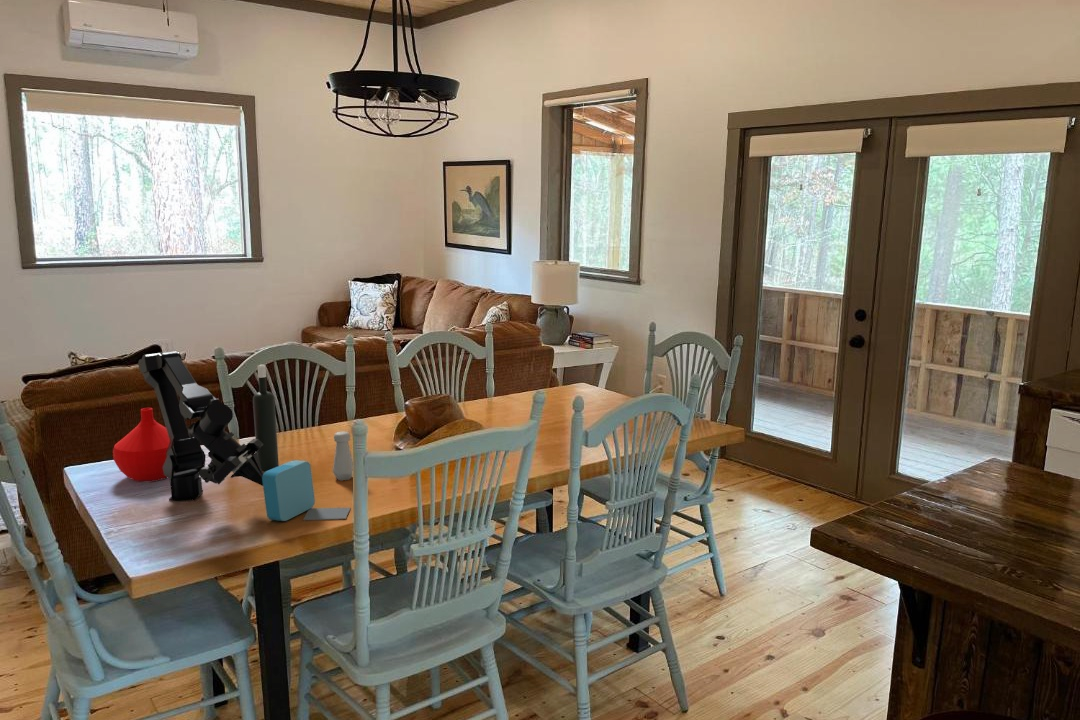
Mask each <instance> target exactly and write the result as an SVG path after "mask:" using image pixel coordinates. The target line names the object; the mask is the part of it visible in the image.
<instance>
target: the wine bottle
mask: <svg viewBox="0 0 1080 720" xmlns="http://www.w3.org/2000/svg"><path fill="white" fill-rule="evenodd" d="M266 367H267V366H266V364H259V365H257V377H258V388H259V391H258V392H256V393H255V394H253V397H252V408H253V409H252V410H253V420H254V421H253V422H254V439H259V440H260V441H261V442H262V443H263V446H262V447H261V448H260V449H259V450H258V451H257V457H258V460H259V463H260V466H261V468H262V471H263V472H266V471H268V470H270V469H273V468H275V467H278V466H280V464H279V449H278V433H277V419H276V418H277V417H276V399H275V396H274V394H273V393H272V392H271V391H268V390H267V389H268V388H267V387H268V386H267V368H266Z"/></svg>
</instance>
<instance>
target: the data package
mask: <svg viewBox="0 0 1080 720" xmlns="http://www.w3.org/2000/svg"><path fill="white" fill-rule="evenodd" d="M263 473H264V474H263V476H262V481H263V486H262V487H263V495H264V496H263V497H264V503H265V511H266V517H267V518H268V519H269V520H271V521H278V522H279V521H280V522H287V521H289V520H290V519H293V518H294V517H297V516H298V515H300V514H302V513H304V512H308V510H309V509H311V508H314V506H315V502H316V500H315V492H314V491H315V490H314V483H313V482H314V481H313V474H312V467H311V463H310V462H309V461H307V460H296V459H295V460H291V461H287V462H285V463H283V464H281V465H280V464H279V466H278V467H275V468H273V469H270V470H268V471H264V472H263Z"/></svg>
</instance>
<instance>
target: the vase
mask: <svg viewBox="0 0 1080 720" xmlns="http://www.w3.org/2000/svg"><path fill="white" fill-rule="evenodd" d="M153 410H154V408H152V407H144V408H141V409H140V415H141V416H140V417H141V418H140V421H139V423H138V424H137V426H135V427H134V428H133V429H132V430H131V431H129V433H127V434H126V435H125V436H123V437H122V438H121V439H120V440H119V441H118V442H117V443H115V444H114V447H113V448H112V457H113V461H114V463H115V464H116V466H117V468H118V470H119V471H120V472H121V473H122V474H124V475H125V476H126V477H127V478H129V479H131V480H132V481H135V482H139V481H151V482H157V481H161V479H162V480H164V478H165V479H168V478H167V477H166V476H165V475H164V472H163V465H164V463H165V460H166V458H167V454H166V451H167V448H168V445H169V442H170V439H169V436H168V432H167V429H166V426H164V425H162V423H161V424H160V423H159V422H157V420H155V418H154V411H153ZM156 480H157V481H156Z"/></svg>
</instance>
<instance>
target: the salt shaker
mask: <svg viewBox="0 0 1080 720" xmlns="http://www.w3.org/2000/svg"><path fill="white" fill-rule="evenodd" d="M333 439H334V440H333V441H334V442H336V443H335V450H334V452H335V453H334V459H333V467H332V473H333V475H334V476H335V479H336V480H337V479H338V480H337V481H343V480H345V481H348V480H351V479H352V477H353V475H352V471H353V465H354V462H353V458H352V453H351V449H350V444H349V441H350V440H351V435H350V433H349V431H343V430H342V431H338V432H337V431H336V432H335V433H334V434H333Z"/></svg>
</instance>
